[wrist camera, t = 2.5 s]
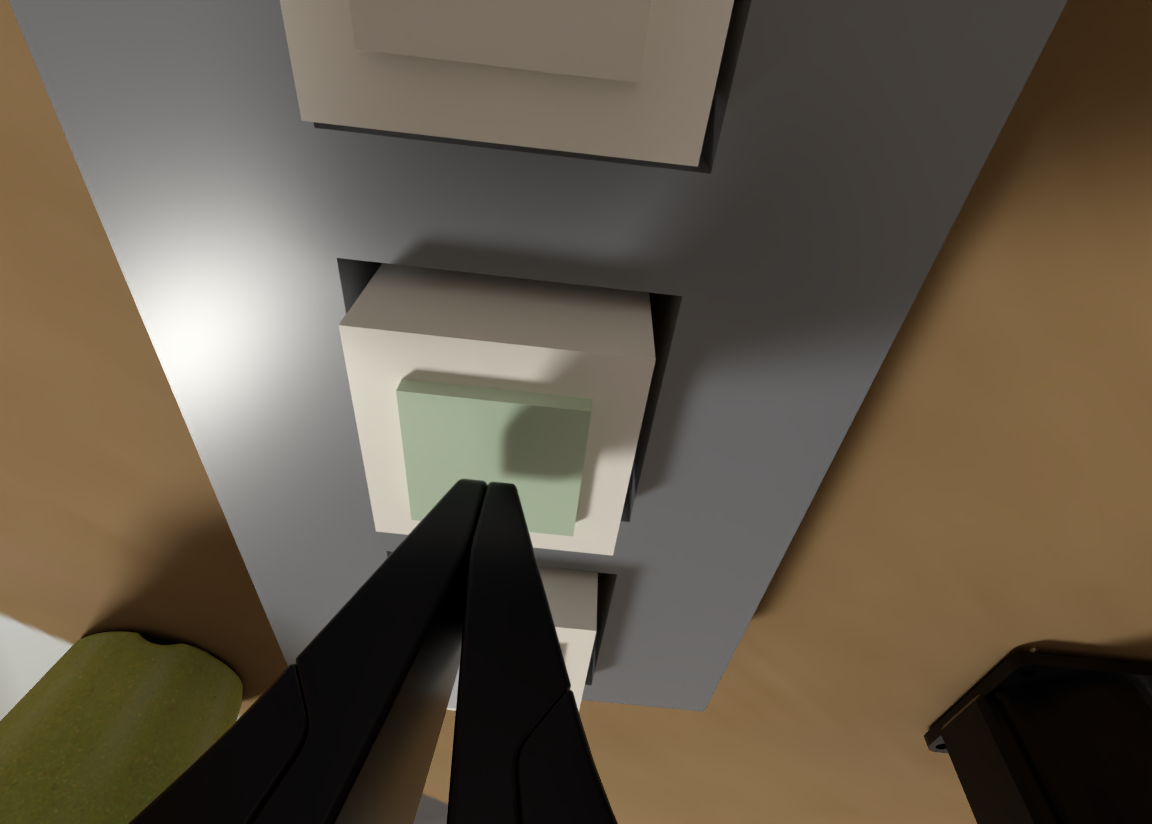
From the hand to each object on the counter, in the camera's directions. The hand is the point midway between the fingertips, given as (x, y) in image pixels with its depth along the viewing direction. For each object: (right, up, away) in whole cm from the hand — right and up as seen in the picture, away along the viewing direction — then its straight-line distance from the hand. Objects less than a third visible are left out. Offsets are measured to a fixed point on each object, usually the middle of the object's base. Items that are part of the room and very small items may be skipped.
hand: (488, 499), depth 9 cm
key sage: (0, +2, +2) cm, 3 cm away
